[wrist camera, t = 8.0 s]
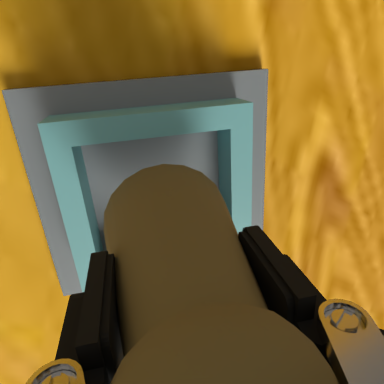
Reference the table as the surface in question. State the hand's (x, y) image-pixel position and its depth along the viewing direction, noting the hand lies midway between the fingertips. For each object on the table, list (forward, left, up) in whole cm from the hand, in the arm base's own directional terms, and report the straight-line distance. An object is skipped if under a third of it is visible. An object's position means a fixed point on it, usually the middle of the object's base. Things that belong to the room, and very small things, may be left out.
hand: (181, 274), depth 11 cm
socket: (0, 0, -9) cm, 9 cm away
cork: (0, 0, -4) cm, 4 cm away
